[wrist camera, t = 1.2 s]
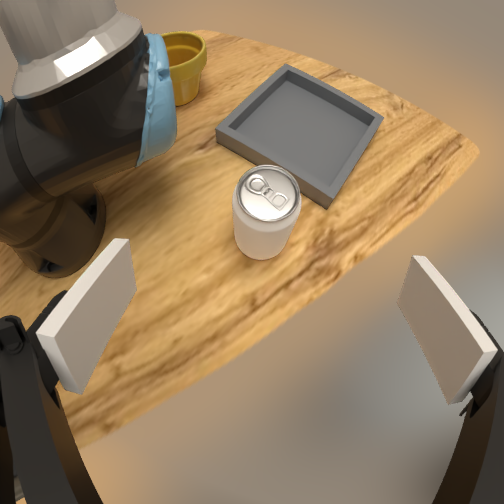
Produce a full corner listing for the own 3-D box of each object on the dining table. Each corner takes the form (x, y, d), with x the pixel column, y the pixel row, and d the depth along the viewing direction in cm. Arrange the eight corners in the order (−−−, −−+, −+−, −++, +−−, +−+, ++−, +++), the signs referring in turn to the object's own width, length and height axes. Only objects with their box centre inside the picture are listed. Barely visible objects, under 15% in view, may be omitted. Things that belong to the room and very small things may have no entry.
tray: (216, 142, 42) (215, 128, 38) (283, 77, 46) (285, 63, 43) (326, 209, 39) (333, 199, 36) (376, 129, 44) (384, 117, 40)
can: (256, 201, 39) (261, 148, 28) (296, 231, 38) (318, 187, 27) (223, 239, 38) (216, 196, 26) (265, 271, 37) (276, 241, 25)
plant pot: (194, 65, 46) (188, 23, 37) (221, 97, 44) (218, 51, 35) (140, 89, 45) (126, 48, 35) (162, 124, 42) (147, 80, 33)
